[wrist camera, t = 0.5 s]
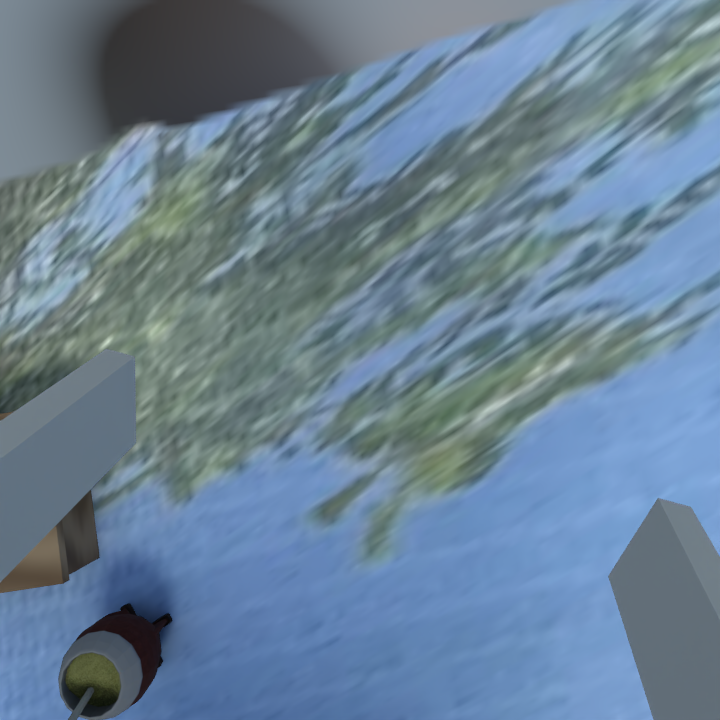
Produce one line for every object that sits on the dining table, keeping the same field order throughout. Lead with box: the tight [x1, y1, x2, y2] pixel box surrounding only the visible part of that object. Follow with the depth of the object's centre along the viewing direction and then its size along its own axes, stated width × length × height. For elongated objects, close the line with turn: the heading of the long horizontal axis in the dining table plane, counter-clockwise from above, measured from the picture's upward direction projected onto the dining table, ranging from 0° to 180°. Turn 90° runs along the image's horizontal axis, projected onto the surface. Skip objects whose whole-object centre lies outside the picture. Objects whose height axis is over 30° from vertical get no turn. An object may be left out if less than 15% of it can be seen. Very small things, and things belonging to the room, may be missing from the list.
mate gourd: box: [58, 604, 172, 720], centre depth 39 cm, size 8×8×15 cm
